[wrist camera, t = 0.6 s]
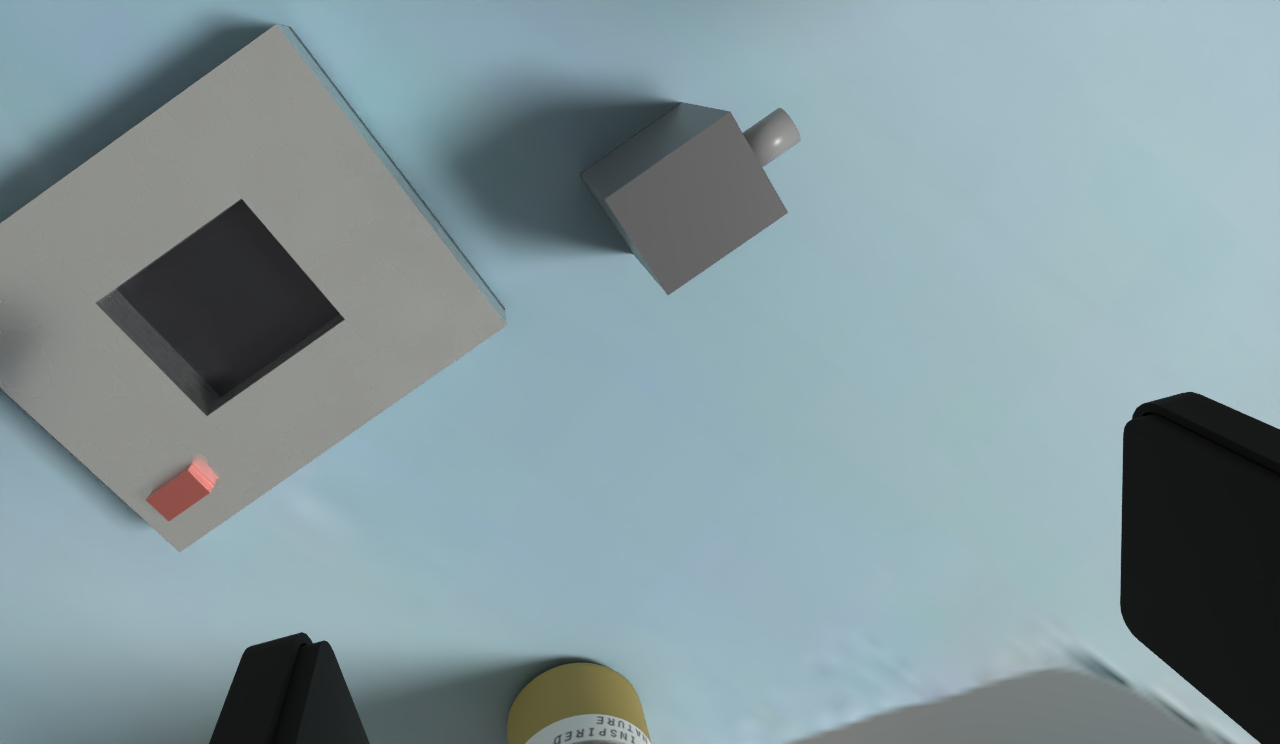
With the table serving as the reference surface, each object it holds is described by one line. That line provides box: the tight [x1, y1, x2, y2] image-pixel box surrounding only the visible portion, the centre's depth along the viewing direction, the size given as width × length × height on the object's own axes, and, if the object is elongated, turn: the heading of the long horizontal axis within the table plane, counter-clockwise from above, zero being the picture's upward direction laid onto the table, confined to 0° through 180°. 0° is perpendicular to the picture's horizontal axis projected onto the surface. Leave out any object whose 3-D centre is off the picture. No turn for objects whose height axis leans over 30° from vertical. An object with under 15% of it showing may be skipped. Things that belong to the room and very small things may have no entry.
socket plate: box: [0, 24, 507, 552], centre depth 33 cm, size 16×13×3 cm
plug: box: [580, 102, 800, 295], centre depth 32 cm, size 7×4×7 cm, turn 123°
